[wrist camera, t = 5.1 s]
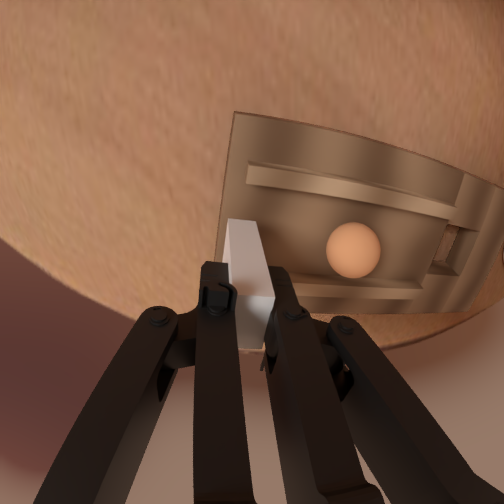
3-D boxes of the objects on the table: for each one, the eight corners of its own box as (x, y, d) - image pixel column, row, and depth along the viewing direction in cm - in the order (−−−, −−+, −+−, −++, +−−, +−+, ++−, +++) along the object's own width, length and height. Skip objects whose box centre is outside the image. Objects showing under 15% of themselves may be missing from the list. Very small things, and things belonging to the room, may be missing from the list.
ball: (313, 257, 20) (329, 288, 17) (327, 209, 18) (346, 235, 15) (358, 261, 20) (378, 290, 17) (373, 217, 19) (398, 242, 16)
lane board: (211, 286, 23) (210, 319, 20) (234, 111, 17) (236, 115, 14) (456, 297, 27) (473, 318, 24) (503, 188, 21) (528, 203, 18)
